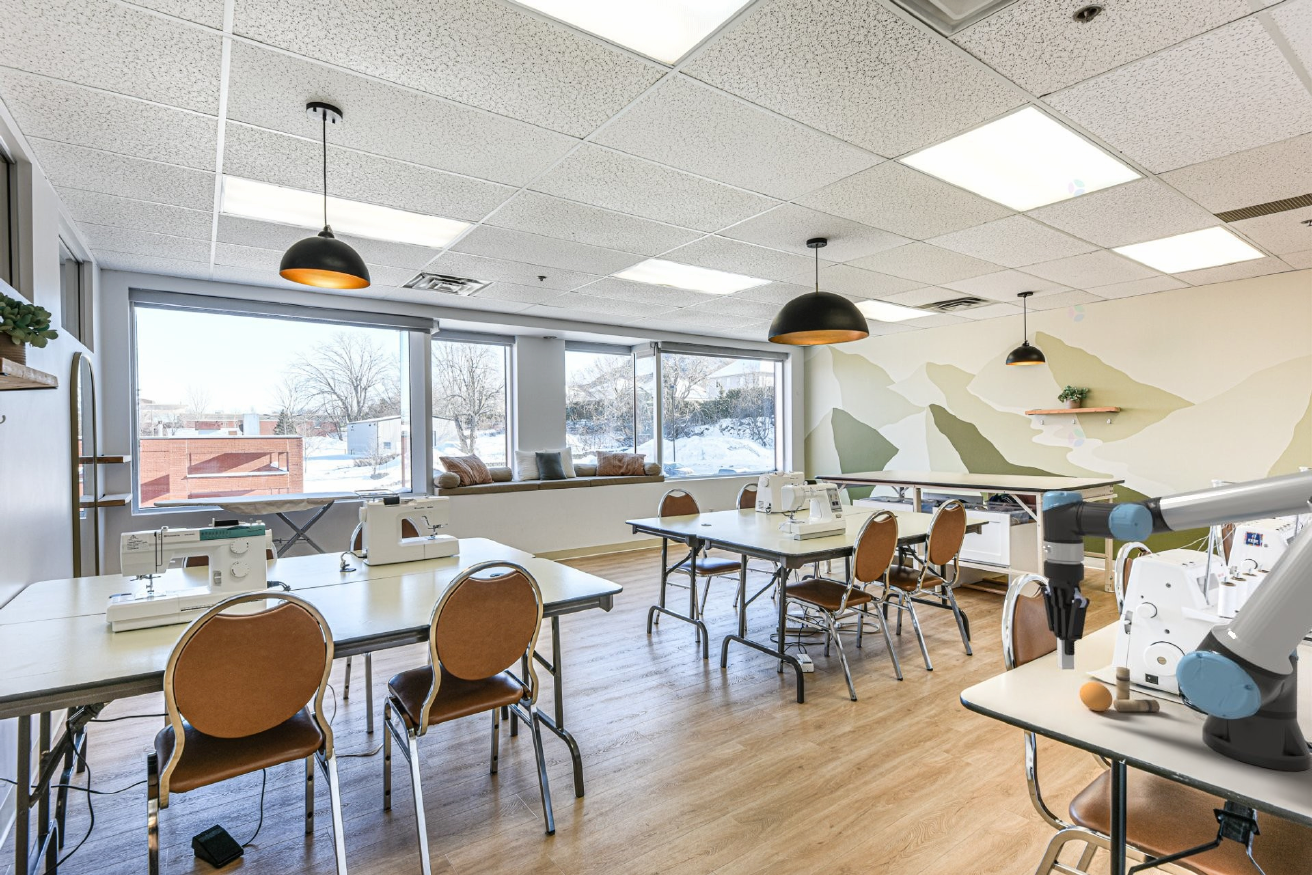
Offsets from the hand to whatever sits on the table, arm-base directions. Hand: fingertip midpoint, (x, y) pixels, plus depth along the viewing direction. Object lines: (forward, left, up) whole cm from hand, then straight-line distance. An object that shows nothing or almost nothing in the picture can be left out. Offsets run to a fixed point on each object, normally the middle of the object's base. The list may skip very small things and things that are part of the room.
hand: (1065, 668), depth 138 cm
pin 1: (-9, -13, -10) cm, 18 cm away
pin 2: (-8, -9, -9) cm, 15 cm away
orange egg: (-5, -6, -7) cm, 10 cm away
